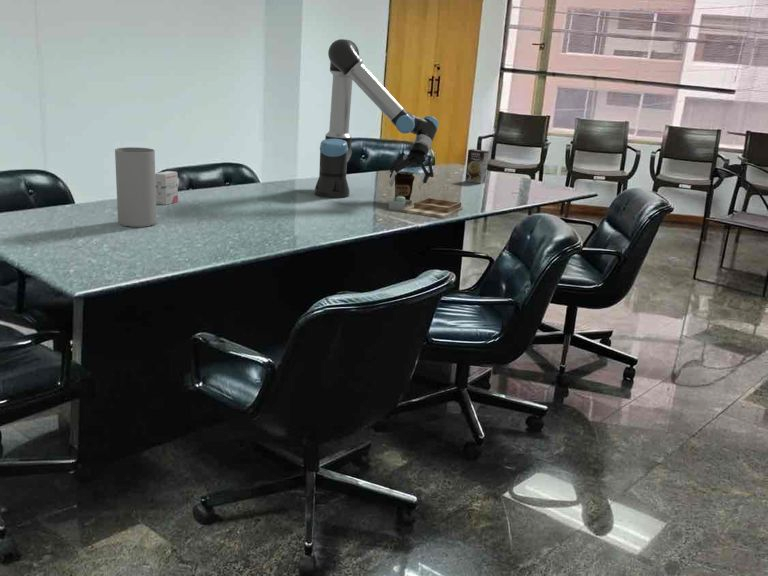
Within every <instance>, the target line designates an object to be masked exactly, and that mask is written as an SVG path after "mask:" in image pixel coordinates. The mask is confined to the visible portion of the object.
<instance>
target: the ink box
mask: <svg viewBox="0 0 768 576" xmlns="http://www.w3.org/2000/svg"><path fill="white" fill-rule="evenodd" d="M155 184H156V205H161V206H162V205H163V206H167V205H171V204H173V203H174V204H175V203H177V202H178V201H179V199H178V198H179V197H178V194H179V193H178V191H179V189H178V172H177V171H171V170H169V171H168V170H167V171H161V172H157V173H156V172H155Z"/></svg>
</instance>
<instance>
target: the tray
mask: <svg viewBox="0 0 768 576" xmlns="http://www.w3.org/2000/svg"><path fill="white" fill-rule="evenodd" d="M462 210H463V206H462V202H460V201H456V200H455V201H453V200H446V199H442V198H433V197H425V198H424V199H421V200H419V201H415V202H414V203H413V204H411V207H408V208H406V209H402V211H401V213H406V212H407V213H408V214H413V213H415V214H414V215H419V214H421V215H420V216H426V215H427V217H433V218H439V219H440V218H441V219H445V218H448V217H449V216H451V214H452V215H453V214H455V213H458V212H461V211H462Z"/></svg>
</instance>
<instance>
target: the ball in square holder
mask: <svg viewBox="0 0 768 576" xmlns="http://www.w3.org/2000/svg"><path fill="white" fill-rule="evenodd" d="M412 203H413V201H412V200H411V199H410V200H406V199H405V202H400V201H396V198H393V199H390V200H388V209H389V210H392V211H398V210H399V212H402V209H406V208H408V207H411V206H412V205H413V204H412Z"/></svg>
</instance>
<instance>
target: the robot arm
mask: <svg viewBox="0 0 768 576" xmlns="http://www.w3.org/2000/svg"><path fill="white" fill-rule="evenodd" d="M327 53H328V59H329V72H330V73H331V74H332V86H331V103H330V113H329V118H330V119H329V129H328V130H329V131H328V132H327V133H326V134H325V138H324V139H322V140H321V142H320V146H319V172H318V173H319V174H318V175H319V176H318V179H317V182H316V185H315V187H314V195H316V196H318V197H324V198H337V199H338V198H347V197H349V196H350V187H349V184H348V180H347V167H348V166H347V165H348V162H349V161H350V159H351V157H352V153H353V151H352V135H351V134H350V118H351V117H350V116H351V106H352V105H351V104H352V93H353V82H354V83H355V84H356V85H357V86H358V88H360V90H361V91H362V92H363V93H365V95H366V96H367V97H368V98H369V100H370V101H372V102H373V103H374V104H375V106H377V108H379V111H381V112H382V113H383V114H384V115H385V116H386V117H387V118H388V120H389V121H390V122H391V123H392V125H393V126H395V127H396V130H398V132H400V133H401V134H409V133H412V134H413V135H416V136H415V138H414V141H413V143H412V145H411V147H410V151H409V153H408V154H405V152H402V153H401V154H400V156H399V157H398V158H397V159H396V160H395V161H393V163H392V164H391V165H389V166H388V170H389V172H390V175H389V178H390V179H389V181H388V183H389V186H390V187H393V186H394V184H395V175H396V174H397V172H401V170H404V169H405V168H407V167H409V166H413V167H414V166H415V167H418V166H420V168H421V170H422V171H423V174H422V176H421V179H420V182H419V184H418V189H419V191H422V190H423V188H424V185H425V184H427V182H428V180H429V178H434V176H435V175H434V174H435V173H434V171H433V165H432V163H433V158H432V156H431V155H429V156H428V154H429V151H430V149H431V147H432V144H433V141H434V139H435V136H436V134H437V131H438V128H439V126H440V123H439V120H438V119H437V118H436V117H434V116H432V115H431V116H429V115H425V116H424V117H423V118H421V117H419V116H417V115H415V114H412V113H410V112H408V111H407V110H406V109H405V108H404V107H403V106H402V105H401V104H400V103H399V102H398V101H397V99H395V97H394V96H393V95H392V94H391V93H390V92H389V91H388V90H387V89H386V87H384V85H383V84H382V83H381V82H380V80H378V79H377V78H376V77H375V75H374V74H373V73H372V72H371V71H370V70H369V69H368V68H367V67H366V65H365V64H364V63H363V59H362V57H360V50H359V48H358V46H357V45H356V43H355V42H353V41H352V40H349V39H347V38H346V39H344V38H341V39H340V38H339V39H337V40H334V41H333V42H331V45H330V46H329V48H328V52H327ZM427 156H428V157H427ZM425 162H427V165H428V170H427V167H425V164H424V163H425ZM428 171H429V172H428Z"/></svg>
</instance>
